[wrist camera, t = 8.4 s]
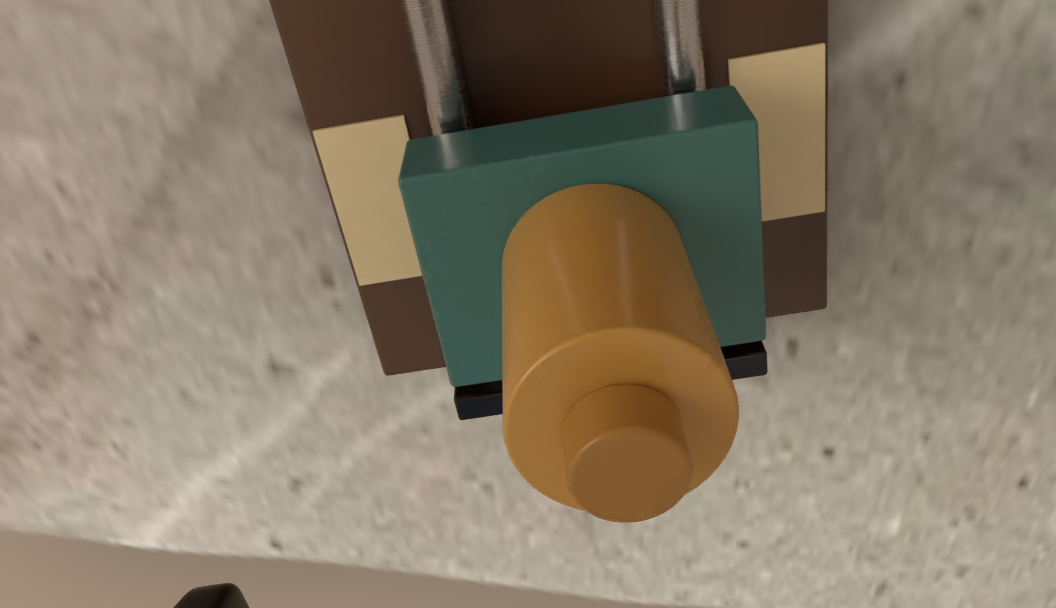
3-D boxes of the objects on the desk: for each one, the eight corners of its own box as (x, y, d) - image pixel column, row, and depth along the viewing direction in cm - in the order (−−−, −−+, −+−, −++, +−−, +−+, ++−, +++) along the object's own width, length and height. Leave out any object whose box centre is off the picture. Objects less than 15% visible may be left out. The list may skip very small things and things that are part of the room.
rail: (811, -500, 14) (881, -553, 11) (815, 286, 21) (858, 362, 19) (172, -368, 15) (104, -389, 12) (388, 352, 22) (374, 434, 19)
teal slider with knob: (735, 83, 17) (876, 295, 10) (745, 291, 19) (866, 567, 13) (405, 139, 17) (351, 375, 11) (455, 336, 19) (434, 625, 13)
